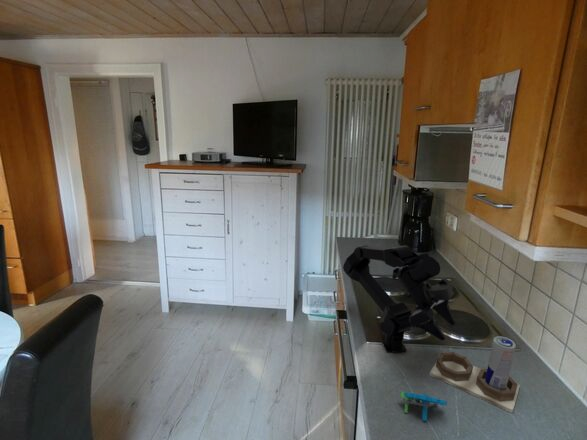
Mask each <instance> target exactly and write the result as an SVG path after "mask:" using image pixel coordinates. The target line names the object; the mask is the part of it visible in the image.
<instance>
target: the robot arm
mask: <svg viewBox="0 0 587 440" xmlns="http://www.w3.org/2000/svg"><path fill="white" fill-rule="evenodd" d="M371 260H375V261H381V262H384V263H385V265H387V266H389V267H392V268H394V269H393V270H392V277H391V278H392V280H395V279H398V280H399V282H400V283H401V285H402V286H403V287H404V288H405V290H406V292H407V295H406V296H407V298H408V299H410V298H411V299H412V300H413V301H414V302H415V304H416V306H415V309H416V311H413V313H412V310H411V309H410V308H408V306H407V305H406V303H404V302H399V303H397V302H395V301H394V300H393V299H392V298H391V296H390V295H389V294H388V293H387V292H386V290H385V289H384V288H383V287H382V286H381V284H380V283H379V282H378V281H377V280H376V279H375V278H374V276H373V275H372V274H371V272H370V271H371V270H370V263H371ZM342 268H343V271H344V273H345V275H346V276H347V277H348V278H349V279H351V280H352V281H355V282H357V283H359V284H360V285H361V287H362V288H363V289H364V290H365V291H366V293H367V294H368V296H370V298H371V299H372V300H373V301H374V303H375V304H376V305H377V306H378V307H379V309H380V310H381V311H382V313H383V316H382V317H383V321H381V322H380V323H379V329H380V331H382V332H383V333H384V334H385V335H384V337H385V338H381V343H382V346H383V347H384V350H385V351H386V353H406V352H407V348H406V346H405V345H404V338H405V332H407V331H408V332H409V331H411V329H412V328H417V329H418V328H419V329H421V330H423V331H426V333H429V334H430V335H432V336H434V337H435V338H437V339H439V340H440V341H444V340H446V337H445V335H444V333H443V332H442V330H441V328H440V326H439V325H438V323H437V321H436V319H437V315H436V314H435V313H434V311H435V312H436V313H437V314H438V315H439V316H440V317H442V318H443V319H444V321H446V322H447V323H448V324H450V325H451V326H455V325H456V321H455V319H454V316H453V313H452V311H451V307H450V300H451V299H452V297H453V296H455V294H454V291H453V288H454V285H453V284H452V283H451V281H449V280H448V279H447V278H441V279H440V280H439V281H438V282H439V283H436V284H435V285H432V283H431V282H429V281H428V280H430V279H433V278H434V277H437V276H438V275H440V273H441V265H440V263H439V261H437V260H436V259H435V258H434V257H432V256H430V254H429V253H428V252H424V253H421V254H418V253H416V252H415V251H414V250H412V249H411V247H410V246H408V245H406V244H405V245H400V246H394V247H393V246H392V247H390V248H389V247H380V246H371V245H362V246H361V245H360V246H357V247H356V248H355V249H354V250H353V252H352V253H351V254H350V255H348V257H347V258H346V259H345V261H344V263H343V265H342ZM433 310H434V311H433Z"/></svg>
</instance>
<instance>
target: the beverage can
mask: <svg viewBox="0 0 587 440" xmlns="http://www.w3.org/2000/svg"><path fill="white" fill-rule="evenodd" d="M516 346H517V345H516V343H515V341H513V340H512V339H510V338H509V337H506V336H501V335H499V336H498V335H497V336H495V337H493V340H492V344H491V350H490V354H489V359H488V363H487V364H488V365H487V368H486V369H487V374H486V379H485V382H486V383H487V384H488V385H489V386H491V387H493V388H496V389H498V390H500V391H503V390H506V387H507V383H508V378H509V376H510V374H511V368H512V364H513V360H514V355H515V351H516Z"/></svg>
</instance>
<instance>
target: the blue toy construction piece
mask: <svg viewBox="0 0 587 440" xmlns="http://www.w3.org/2000/svg"><path fill="white" fill-rule="evenodd" d="M399 395H400V398H402V399H403V401H402V402H403V403H404V413H407V414H408V412H409V411H408V409H409V404H411V405H416V406H420V407H422V415H421V416H422V421H424V422H426V421H428V408H429V407H430V406H429V404H430V403H432V404H435V405H442V406H448V401H447V400H444V399H440V398H437V397H432V396H428V394H426V393H423V394H417V393H411V392H404V391H400V394H399ZM414 399H415V400H416V401H421V403H420V402H414Z"/></svg>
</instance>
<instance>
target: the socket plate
mask: <svg viewBox="0 0 587 440" xmlns="http://www.w3.org/2000/svg"><path fill="white" fill-rule="evenodd" d="M487 369H488V368H480V367H477V366H474V365H473V364H472V363H471V362H470V360H469V359H468V358H467V356H463V355H461V354H459V353H456V352H454V351H450V352H449V351H447V352H440V353H439V355H438V357H437V358H436V362H435V364H434V365H433V367H432V368H431V369H430V372H429V376H431V377H433V378H434V379H435V378H436V379H438V380H439V381H442V382H444V383H447V384H449V385H450V386H452V387H454V388H457V389H459V390H461V391H463V392H466V393H468V394H470V395H472V396H474V397H477V398H478V399H481V400H482V401H484V402H488V403H489V404H492V405H494V406H495V407H498V408H500V409H503V410H504V411H507V412H508V413H511V414H513V412H514V408H515V405H516V401H517V397H518V394H519V391H520V388H521V384H519V383H517V382H516V381H515V380H514V379H513V378H512V377H511V376H510V375H509V378H508V383H507V387H506V390H503V391H500V390H498V389H496V388H493V387H491V386H489V385H488V384H487V383H486V382H485V379H486V374H487Z"/></svg>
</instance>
